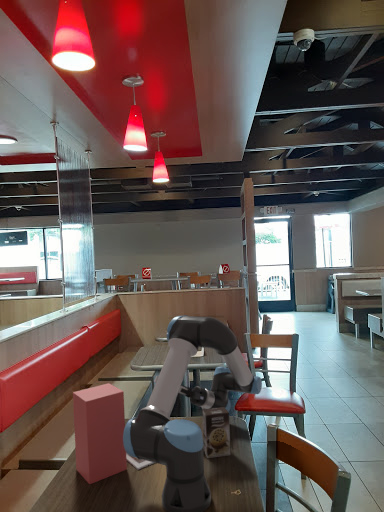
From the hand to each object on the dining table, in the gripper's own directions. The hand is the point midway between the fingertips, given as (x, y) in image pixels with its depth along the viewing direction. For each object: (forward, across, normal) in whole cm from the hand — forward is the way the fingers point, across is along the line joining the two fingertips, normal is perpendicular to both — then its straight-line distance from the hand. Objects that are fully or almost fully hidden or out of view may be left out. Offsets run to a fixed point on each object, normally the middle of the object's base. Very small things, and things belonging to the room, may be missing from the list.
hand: (164, 382), depth 159 cm
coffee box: (-22, -19, -16) cm, 33 cm away
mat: (-9, 0, -24) cm, 25 cm away
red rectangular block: (+12, 0, -35) cm, 37 cm away
